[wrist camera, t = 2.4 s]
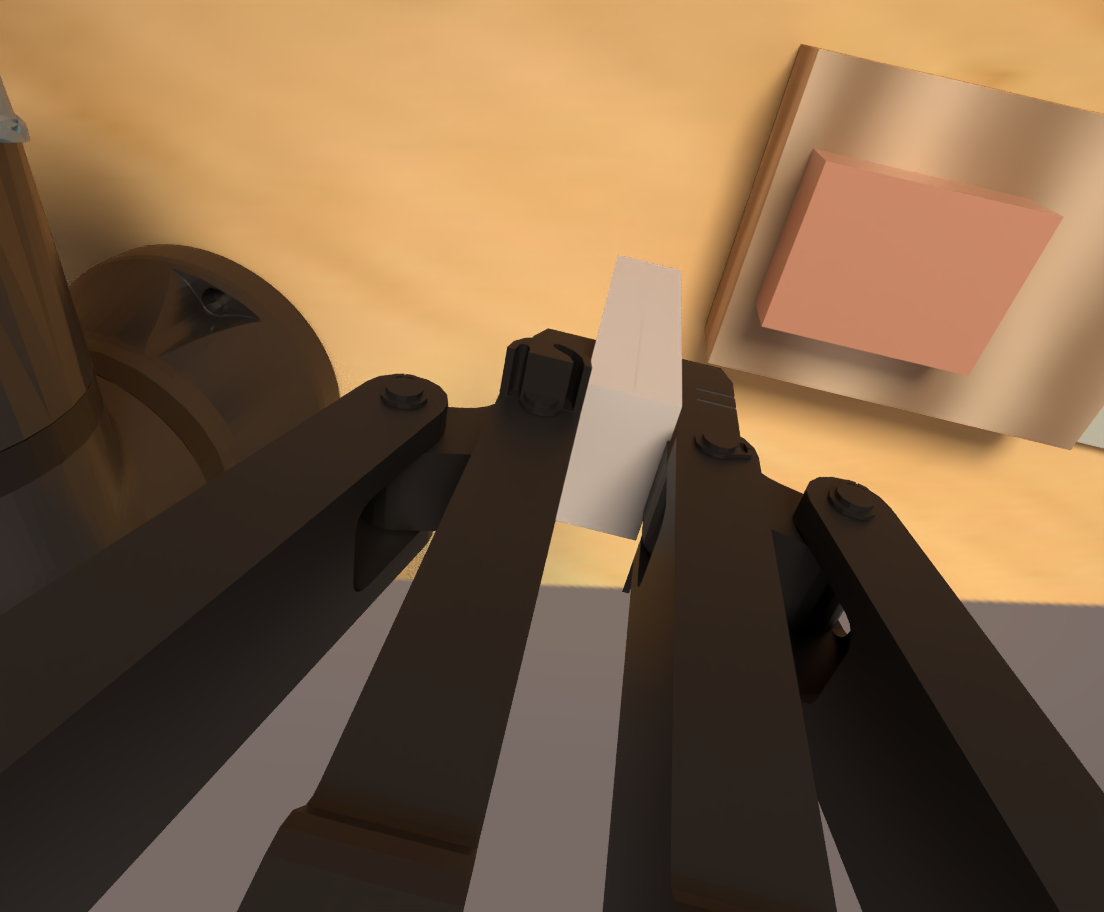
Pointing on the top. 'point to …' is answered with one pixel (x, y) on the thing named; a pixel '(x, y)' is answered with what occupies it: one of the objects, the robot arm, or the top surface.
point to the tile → (900, 261)
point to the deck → (957, 155)
